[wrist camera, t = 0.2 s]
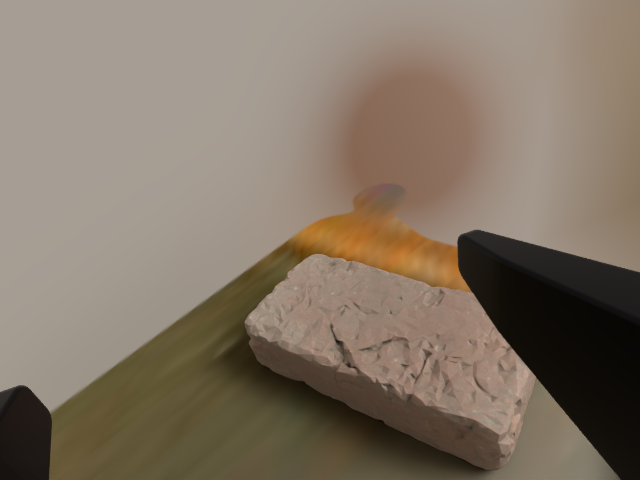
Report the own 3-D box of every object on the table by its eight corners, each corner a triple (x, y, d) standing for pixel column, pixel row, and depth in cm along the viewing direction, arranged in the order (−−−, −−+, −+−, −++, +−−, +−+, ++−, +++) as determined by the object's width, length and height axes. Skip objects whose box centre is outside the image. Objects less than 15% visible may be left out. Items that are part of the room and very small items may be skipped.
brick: (250, 365, 30) (230, 317, 27) (318, 289, 35) (307, 242, 32) (504, 492, 21) (513, 439, 18) (543, 363, 26) (555, 307, 23)
